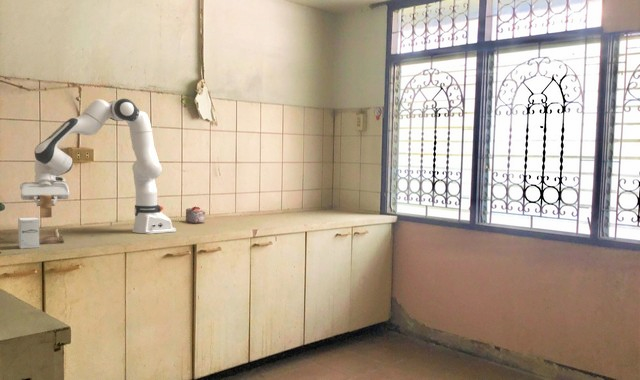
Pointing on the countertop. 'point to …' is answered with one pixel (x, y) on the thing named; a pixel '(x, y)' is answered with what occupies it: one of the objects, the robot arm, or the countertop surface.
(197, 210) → the food item
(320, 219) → the countertop surface
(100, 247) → the countertop surface
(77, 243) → the countertop surface
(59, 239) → the peg stand
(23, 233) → the supplement box
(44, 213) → the brown rectangular block
